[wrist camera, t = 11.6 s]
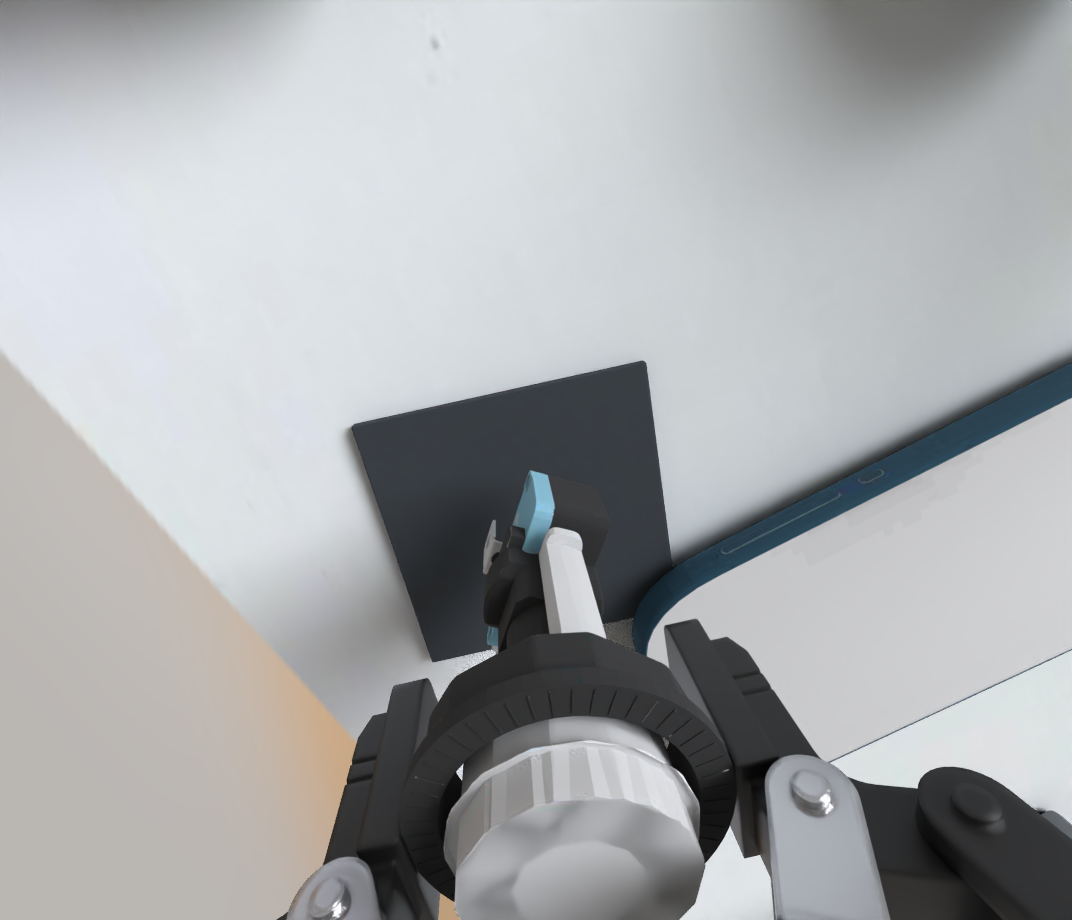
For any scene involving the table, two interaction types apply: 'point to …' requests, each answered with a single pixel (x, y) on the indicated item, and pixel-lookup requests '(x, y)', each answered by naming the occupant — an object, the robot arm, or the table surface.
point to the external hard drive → (899, 576)
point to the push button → (563, 747)
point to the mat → (516, 490)
